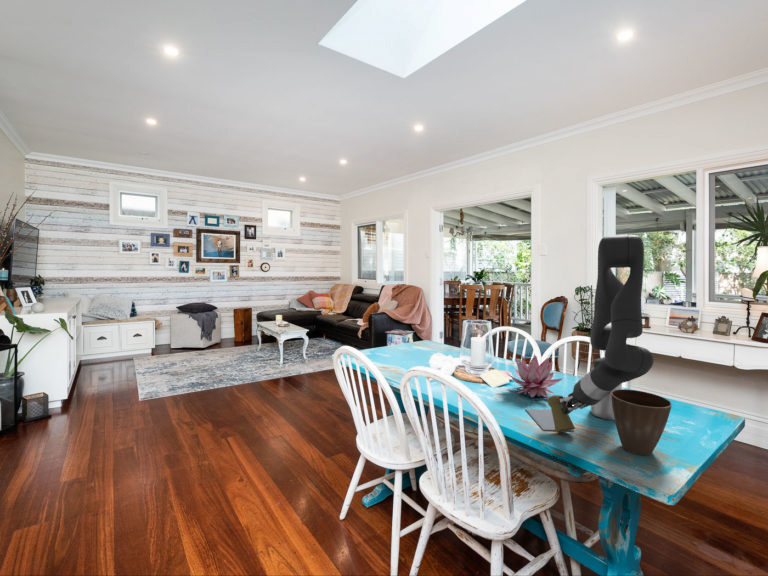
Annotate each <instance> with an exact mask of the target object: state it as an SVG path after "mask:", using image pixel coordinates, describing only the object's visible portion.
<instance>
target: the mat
mask: <svg viewBox="0 0 768 576" xmlns="http://www.w3.org/2000/svg"><path fill="white" fill-rule="evenodd" d="M525 411H526V412H527V414H529V416H530V417H531V418H532V420H534V422H535V421H536V424H537V425H538V426H539V427H540V428H541V430H542V431H545V432H547V431H549V432H556V430H555V425H554V420H553V415H552V410H551V409H550V408H548V409H547V408H544V409H540V408H537V409H536V408H525ZM568 432H575V429H573V430H569V431H568Z"/></svg>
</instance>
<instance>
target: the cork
mask: <svg viewBox="0 0 768 576" xmlns="http://www.w3.org/2000/svg"><path fill="white" fill-rule="evenodd" d="M560 396H561V395H559V394H557V395H555V394H553V395H551V396H548V397H549V398H548V397H547V405H548V406H549V407H550V410H552V415H553V420H554V425H555V430H556V431H555V433H564V432H570V431H569V430H575V429H576V427H575V425H574V423H573V420H572V418H571V417H570V414H564V413H563V411H562V409H561V408H562V407H563V406H562V404H561V402H560V399H559V397H560Z"/></svg>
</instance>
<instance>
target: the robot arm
mask: <svg viewBox="0 0 768 576" xmlns="http://www.w3.org/2000/svg"><path fill="white" fill-rule="evenodd" d="M644 264H645V245H644V241H643V239H642V237H641V236H640V235H634V234H632V235H610V236H604V237H602V238H601V239H600V241H599V244H598V248H597V278H596V288H595V292H594V293H595V294H594V304H593V305H594V308H593V321H592V326H591V330H590V336H589V342H590V345H591V347H592V348H593V349H594V350H598V351H603V352H604V357H600V358H596V359H594V361H593V366H592V367H593V369H592V370H591V371H588V372H586V374H585V375H584V376H582V377H581V378H580V379H579V380H578V381H577V382H575V384H574V385H573V390H572V392H571V393H569V394H568V395H567V396H566V397H565V396H563V395H560V397H559V399H560V402H561V404H562V406H563V407H562V408H561V409H562V411H563V413H564V414H568V415H570V414H571V413H572V412H574V411H576V410H578V409H585V408H587V407H590V413H591V414H592V415H593V416H595V417H597V418H599V419H603V420H608V421H609V420H610V421H615V419H614V414H613V407H612V397H611V392H612V391H614V390H620V389H622V388H623V387H622V386H623V383H627V382H630V381H633V380H635V379H638V378H640V377H642V376H644V375H646V374H647V373H649V371H650V370H651V369H652V367H653V364H654V356H653V354H652V353H651V351H650V350H649V349H647V348H645V347H643V346H640V345H639V346H638V345H633V344H628V343H627V341H628V339H635V338H639V337H640V336H641V335H642V334H643V332H644V331H643V329H644V328H643V327H644V326H643V316H642V292H643V291H642V290H643V281H644ZM613 268H615V269H616V268H617V269H618V268H626V269H627V268H629V269H630V270H629V275H628V278H627V279H626V281H625V283H623V282H622V281H621V280H620V279H619V278H618V277H617V276H616V275H615V274H614V271H612V269H613ZM609 324H610V325H609Z"/></svg>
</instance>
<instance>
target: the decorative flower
mask: <svg viewBox="0 0 768 576" xmlns="http://www.w3.org/2000/svg"><path fill="white" fill-rule="evenodd" d="M515 363H516V366H517V368H514V371H515V374H516V375H517V377H518V378H520V379H521V380H520V379H518V378H516V377H515V376H514V377H513V376H511V374H509V373H508V372H505V373H506V374H507V375H508V376H509V377H511V380H512V381H514V382H515V383H516V384H518V386H519V387H513V389H514V390H517V389H521V390H519V391H518V392H516V394H523V393H524V395H527V394H528V395H529V396H530V397H531V398H533V397H535V396H537V397H539V398H541V396H542V397H544V398H547V399H548V398H549V397H550V396H549V395H548V394H550V395H551V394H552V395H555V394H556V393H554V392H553V391H551V390H549V388H550V387H552V386H555V385H556V384H558V383H559V382H561V381H562V380H563V377H562V378H556V379H552V378H553V377H554V374H555V373H554V372H553V371H552V369H553V361H551V362H550V360H549V358H545V360H543V361H542V362H541V363H540V364H539V361H538V357H537V355H534V356H533V357H532V359H531V360H530V362H529V364H528V365H527V363H526V360H525V356H524V355H522V356H521V360H518V358H517V357H515ZM551 371H552V372H551Z"/></svg>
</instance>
